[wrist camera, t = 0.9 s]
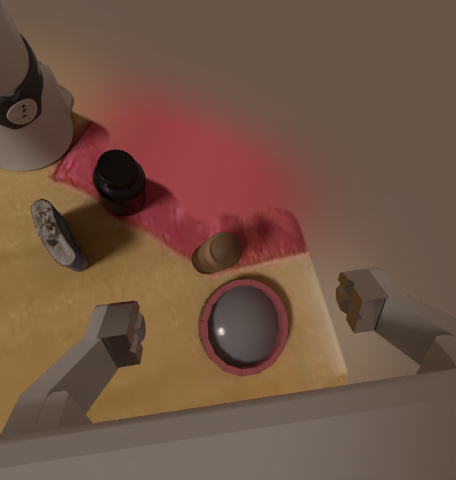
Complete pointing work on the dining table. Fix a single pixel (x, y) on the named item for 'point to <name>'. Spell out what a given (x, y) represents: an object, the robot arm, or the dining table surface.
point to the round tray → (243, 327)
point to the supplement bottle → (120, 183)
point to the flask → (57, 236)
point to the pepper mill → (217, 253)
